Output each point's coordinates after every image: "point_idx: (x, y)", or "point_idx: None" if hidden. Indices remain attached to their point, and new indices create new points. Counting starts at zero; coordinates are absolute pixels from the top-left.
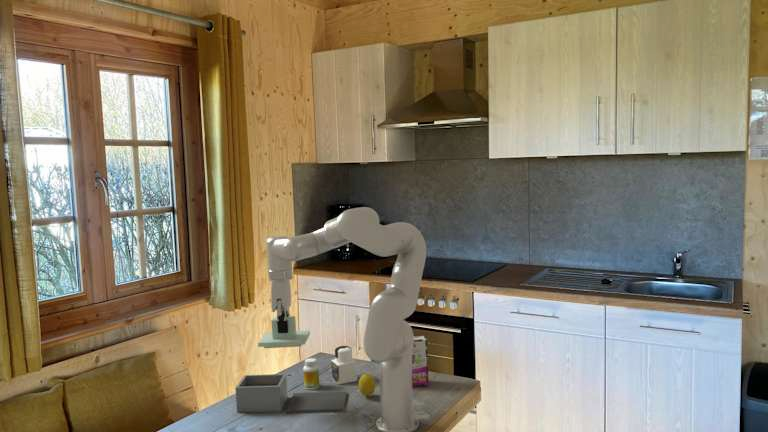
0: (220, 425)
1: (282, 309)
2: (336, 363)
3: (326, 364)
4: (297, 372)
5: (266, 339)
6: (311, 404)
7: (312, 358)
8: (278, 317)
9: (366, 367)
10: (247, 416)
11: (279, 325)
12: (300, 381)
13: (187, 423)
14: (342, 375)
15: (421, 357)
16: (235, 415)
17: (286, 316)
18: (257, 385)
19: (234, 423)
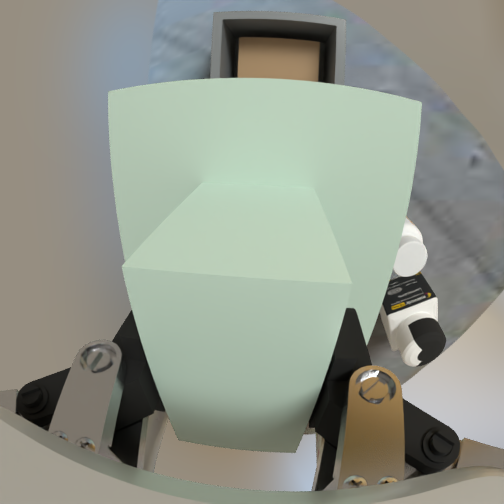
0: (154, 23)
1: (325, 488)
2: (403, 312)
3: (496, 252)
4: (481, 183)
5: (197, 129)
6: None
7: (422, 265)
8: (32, 388)
9: (443, 329)
10: (199, 67)
11: (124, 322)
12: (427, 190)
13: None
14: (381, 305)
15: (316, 441)
16: (209, 35)
17: (316, 415)
18: (329, 67)
19: (161, 50)
